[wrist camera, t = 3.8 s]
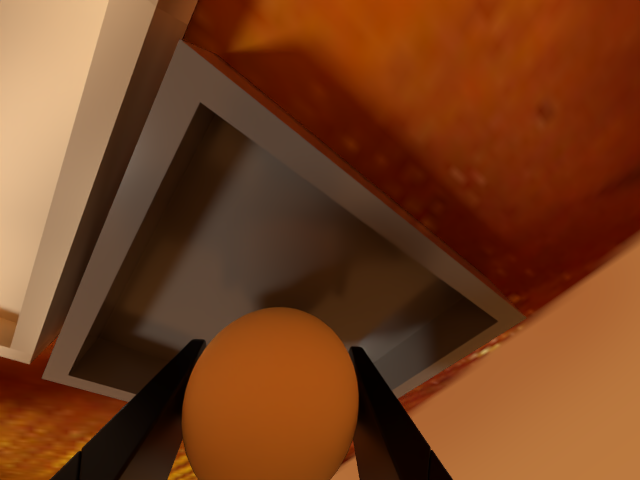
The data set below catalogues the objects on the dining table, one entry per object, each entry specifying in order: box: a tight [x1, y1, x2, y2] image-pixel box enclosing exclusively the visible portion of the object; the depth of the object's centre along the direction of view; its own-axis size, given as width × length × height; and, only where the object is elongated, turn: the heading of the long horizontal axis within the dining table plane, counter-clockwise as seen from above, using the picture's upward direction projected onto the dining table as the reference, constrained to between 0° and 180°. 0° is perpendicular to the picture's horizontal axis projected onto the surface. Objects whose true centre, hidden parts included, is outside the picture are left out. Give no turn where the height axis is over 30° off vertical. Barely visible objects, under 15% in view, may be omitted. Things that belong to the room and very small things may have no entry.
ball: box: [181, 307, 359, 480], centre depth 8 cm, size 5×5×5 cm
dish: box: [41, 39, 526, 402], centre depth 10 cm, size 12×12×2 cm
